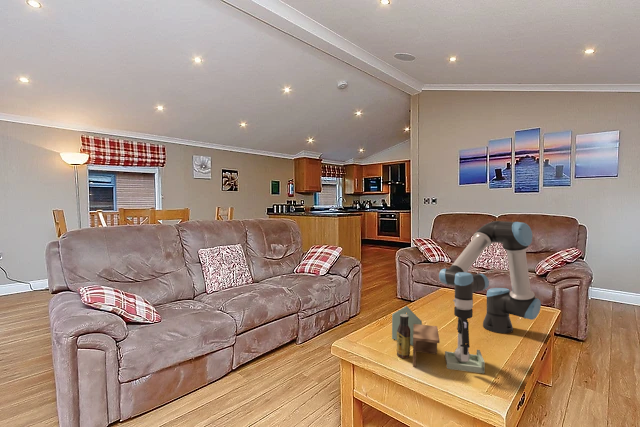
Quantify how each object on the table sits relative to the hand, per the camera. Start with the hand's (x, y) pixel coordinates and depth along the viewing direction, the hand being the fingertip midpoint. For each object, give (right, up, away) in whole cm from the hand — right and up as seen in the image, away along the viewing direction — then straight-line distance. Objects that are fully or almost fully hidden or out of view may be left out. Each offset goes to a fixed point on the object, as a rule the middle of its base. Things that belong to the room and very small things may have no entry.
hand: (462, 354), depth 149 cm
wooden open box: (-15, -5, +5) cm, 17 cm away
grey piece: (-17, -4, +25) cm, 31 cm away
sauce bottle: (-25, -5, +8) cm, 26 cm away
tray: (0, -5, 0) cm, 5 cm away
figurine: (0, -4, +1) cm, 4 cm away
